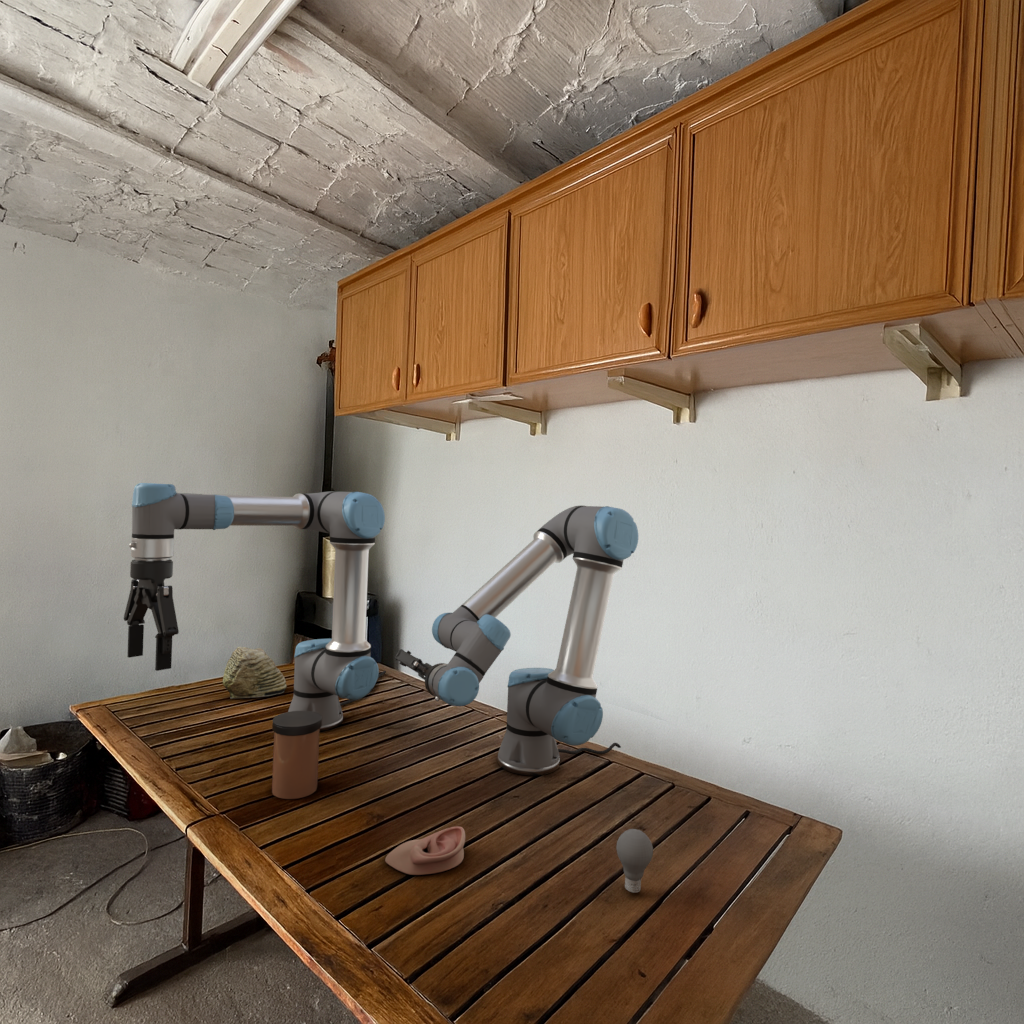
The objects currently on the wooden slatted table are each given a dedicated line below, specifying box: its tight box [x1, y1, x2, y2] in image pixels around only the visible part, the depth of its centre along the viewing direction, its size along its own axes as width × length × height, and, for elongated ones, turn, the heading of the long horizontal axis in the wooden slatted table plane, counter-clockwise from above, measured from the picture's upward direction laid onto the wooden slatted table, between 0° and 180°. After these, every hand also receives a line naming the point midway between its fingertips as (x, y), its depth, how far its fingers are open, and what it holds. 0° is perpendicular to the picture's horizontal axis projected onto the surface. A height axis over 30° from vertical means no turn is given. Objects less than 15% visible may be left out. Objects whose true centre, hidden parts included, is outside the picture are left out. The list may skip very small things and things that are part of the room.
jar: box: [271, 729, 321, 800], centre depth 137 cm, size 9×9×15 cm
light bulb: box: [615, 828, 654, 894], centre depth 106 cm, size 6×6×10 cm
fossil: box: [222, 646, 288, 699], centre depth 198 cm, size 9×18×15 cm, turn 132°
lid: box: [271, 711, 322, 736], centre depth 137 cm, size 10×10×2 cm
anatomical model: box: [384, 826, 466, 876], centre depth 113 cm, size 13×4×12 cm
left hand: (148, 662), depth 129 cm, fingers open, 13 cm apart
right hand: (425, 674), depth 157 cm, fingers open, 13 cm apart
